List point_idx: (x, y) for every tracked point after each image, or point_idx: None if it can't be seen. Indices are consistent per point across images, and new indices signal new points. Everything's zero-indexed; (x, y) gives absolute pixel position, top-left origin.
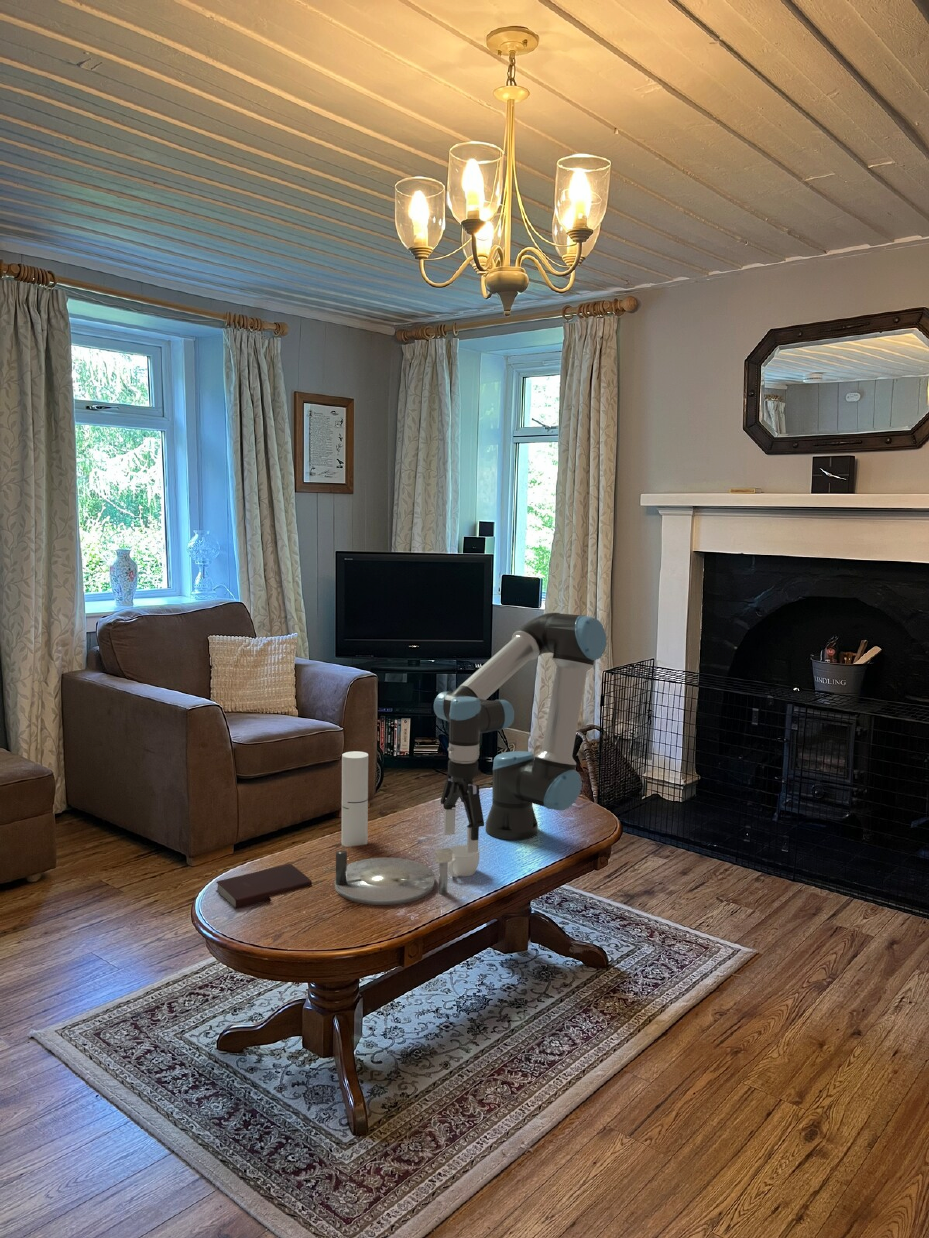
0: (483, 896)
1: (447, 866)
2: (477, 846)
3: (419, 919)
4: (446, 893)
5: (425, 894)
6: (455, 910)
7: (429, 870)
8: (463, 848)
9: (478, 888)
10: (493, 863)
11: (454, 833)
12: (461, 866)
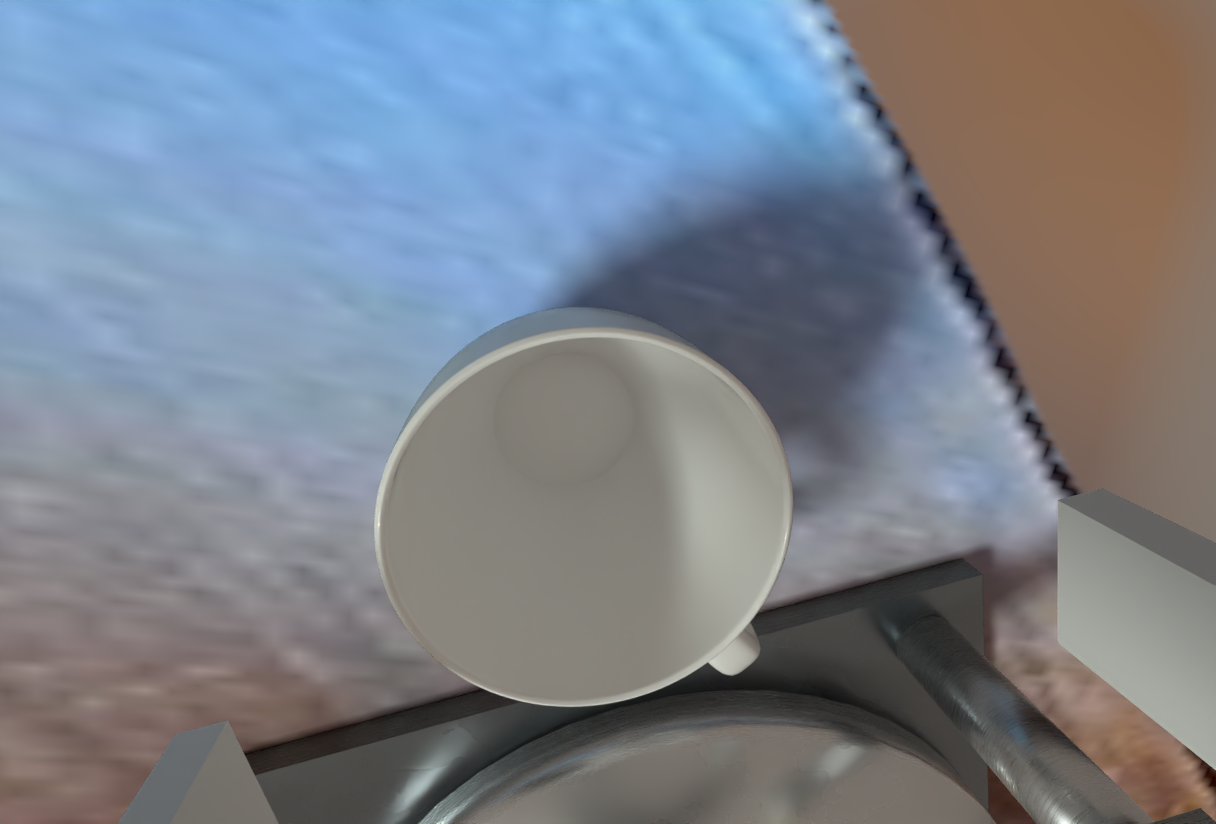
0: (992, 338)
1: (1127, 797)
2: (1184, 540)
3: (1130, 765)
4: (952, 625)
5: (944, 760)
6: None
7: (669, 766)
8: (395, 493)
9: (840, 344)
10: (242, 14)
11: (227, 729)
12: (727, 525)
